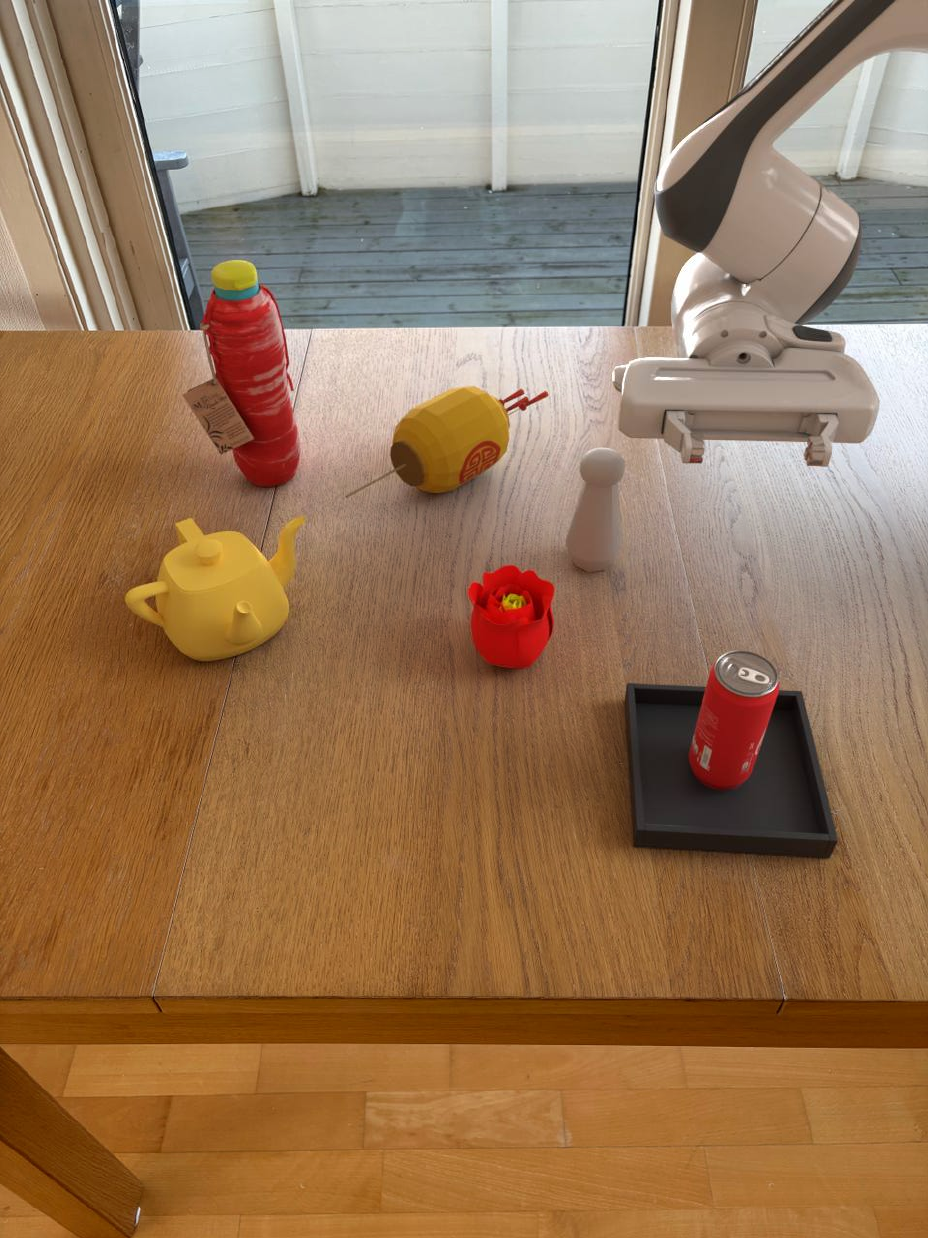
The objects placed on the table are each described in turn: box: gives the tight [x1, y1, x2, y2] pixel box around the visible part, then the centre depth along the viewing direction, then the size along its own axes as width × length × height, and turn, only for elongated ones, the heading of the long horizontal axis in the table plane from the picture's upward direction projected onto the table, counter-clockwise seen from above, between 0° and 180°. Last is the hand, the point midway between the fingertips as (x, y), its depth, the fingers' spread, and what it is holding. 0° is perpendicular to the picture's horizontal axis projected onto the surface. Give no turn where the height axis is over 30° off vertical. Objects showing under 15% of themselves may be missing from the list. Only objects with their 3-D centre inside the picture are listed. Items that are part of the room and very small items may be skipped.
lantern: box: [345, 385, 549, 499], centre depth 107 cm, size 10×10×30 cm
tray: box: [623, 682, 839, 859], centre depth 79 cm, size 15×15×2 cm
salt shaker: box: [565, 447, 626, 573], centre depth 95 cm, size 6×6×13 cm
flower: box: [467, 564, 556, 670], centre depth 87 cm, size 8×8×8 cm
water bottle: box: [181, 259, 302, 488], centre depth 102 cm, size 12×8×25 cm, turn 132°
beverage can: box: [689, 649, 781, 791], centre depth 75 cm, size 5×5×12 cm
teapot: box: [124, 515, 307, 662], centre depth 90 cm, size 14×13×10 cm
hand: (756, 457), depth 72 cm, fingers open, 8 cm apart
